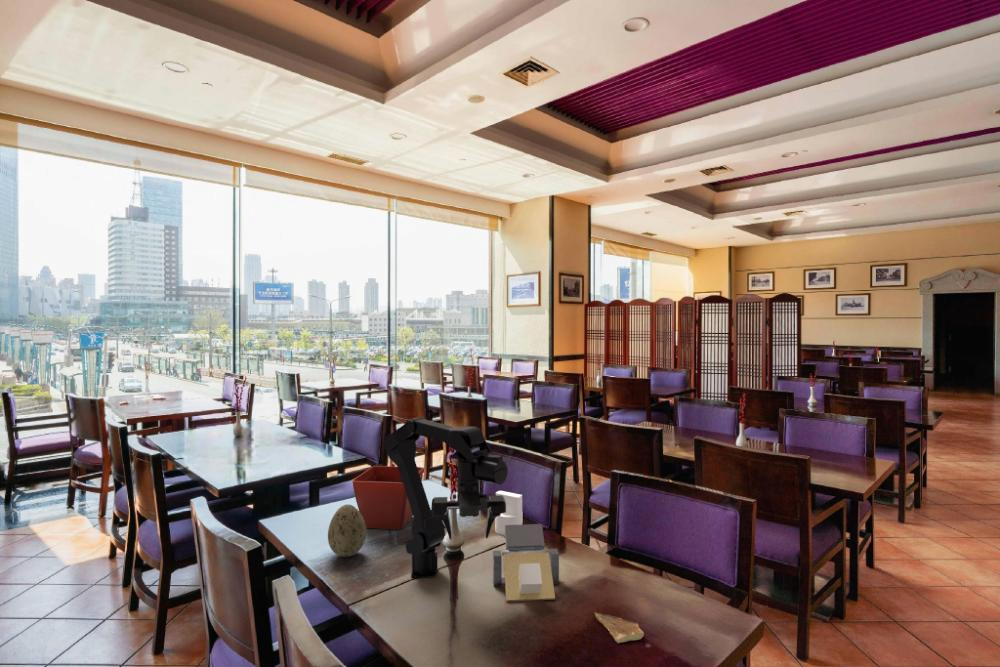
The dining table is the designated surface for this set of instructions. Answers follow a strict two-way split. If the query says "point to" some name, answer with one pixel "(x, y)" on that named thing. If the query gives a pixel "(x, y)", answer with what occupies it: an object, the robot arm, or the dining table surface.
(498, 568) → the frame
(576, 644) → the dining table surface
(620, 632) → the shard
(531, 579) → the cube
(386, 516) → the plant pot
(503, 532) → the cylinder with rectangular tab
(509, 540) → the trapdoor
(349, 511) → the decorative egg
